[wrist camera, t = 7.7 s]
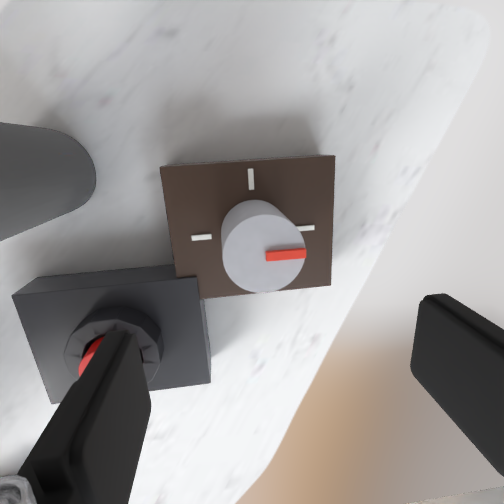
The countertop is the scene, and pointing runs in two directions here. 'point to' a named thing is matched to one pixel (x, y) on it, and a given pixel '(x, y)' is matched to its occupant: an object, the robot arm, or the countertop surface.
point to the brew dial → (261, 247)
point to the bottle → (40, 177)
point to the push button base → (117, 324)
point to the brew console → (239, 190)
